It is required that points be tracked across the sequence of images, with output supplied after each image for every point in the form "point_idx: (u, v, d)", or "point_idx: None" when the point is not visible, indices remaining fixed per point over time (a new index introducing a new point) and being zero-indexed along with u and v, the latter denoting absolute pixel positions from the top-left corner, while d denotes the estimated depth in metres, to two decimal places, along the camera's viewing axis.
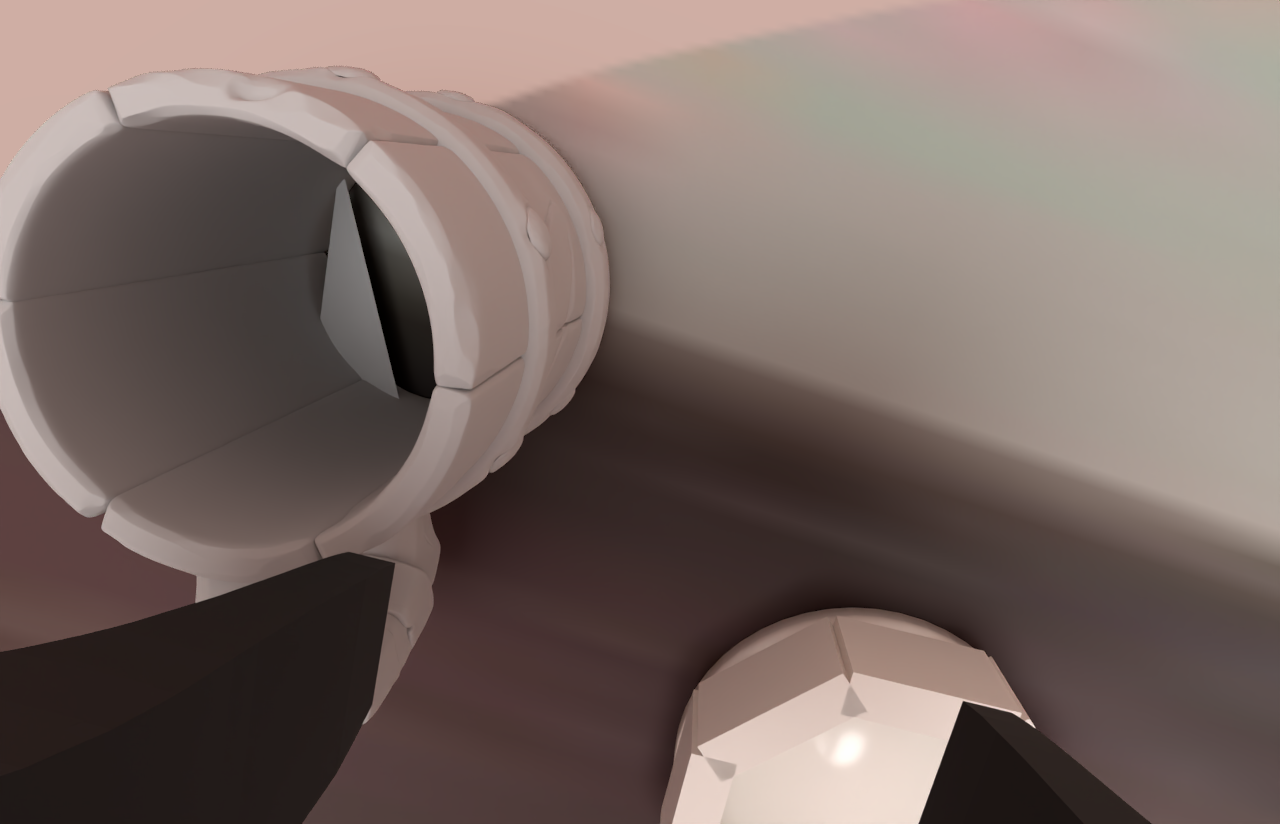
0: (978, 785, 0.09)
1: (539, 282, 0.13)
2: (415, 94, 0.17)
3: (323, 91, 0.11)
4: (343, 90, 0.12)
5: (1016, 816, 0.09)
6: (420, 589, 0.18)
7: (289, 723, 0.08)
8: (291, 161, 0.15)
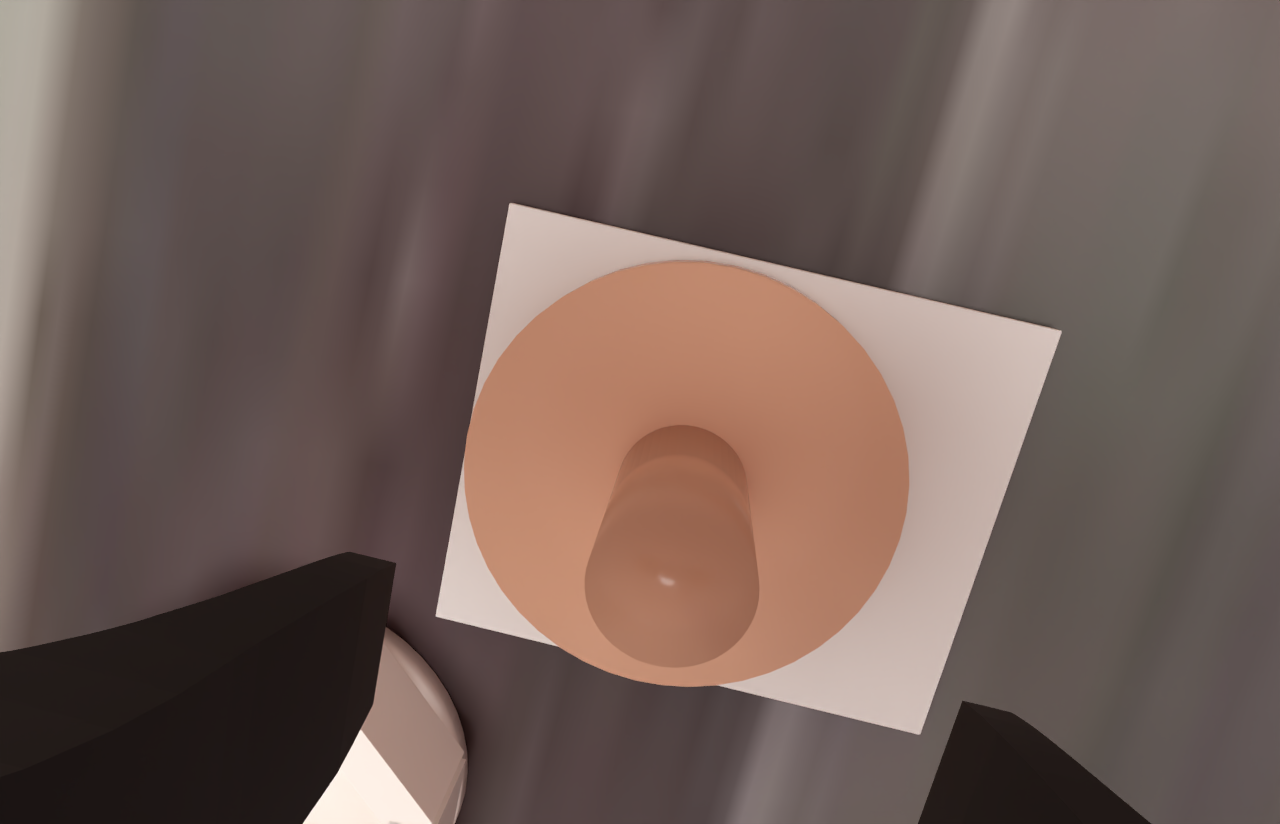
0: (977, 785, 0.09)
1: None
2: None
3: None
4: None
5: (1015, 816, 0.09)
6: None
7: (290, 723, 0.08)
8: None
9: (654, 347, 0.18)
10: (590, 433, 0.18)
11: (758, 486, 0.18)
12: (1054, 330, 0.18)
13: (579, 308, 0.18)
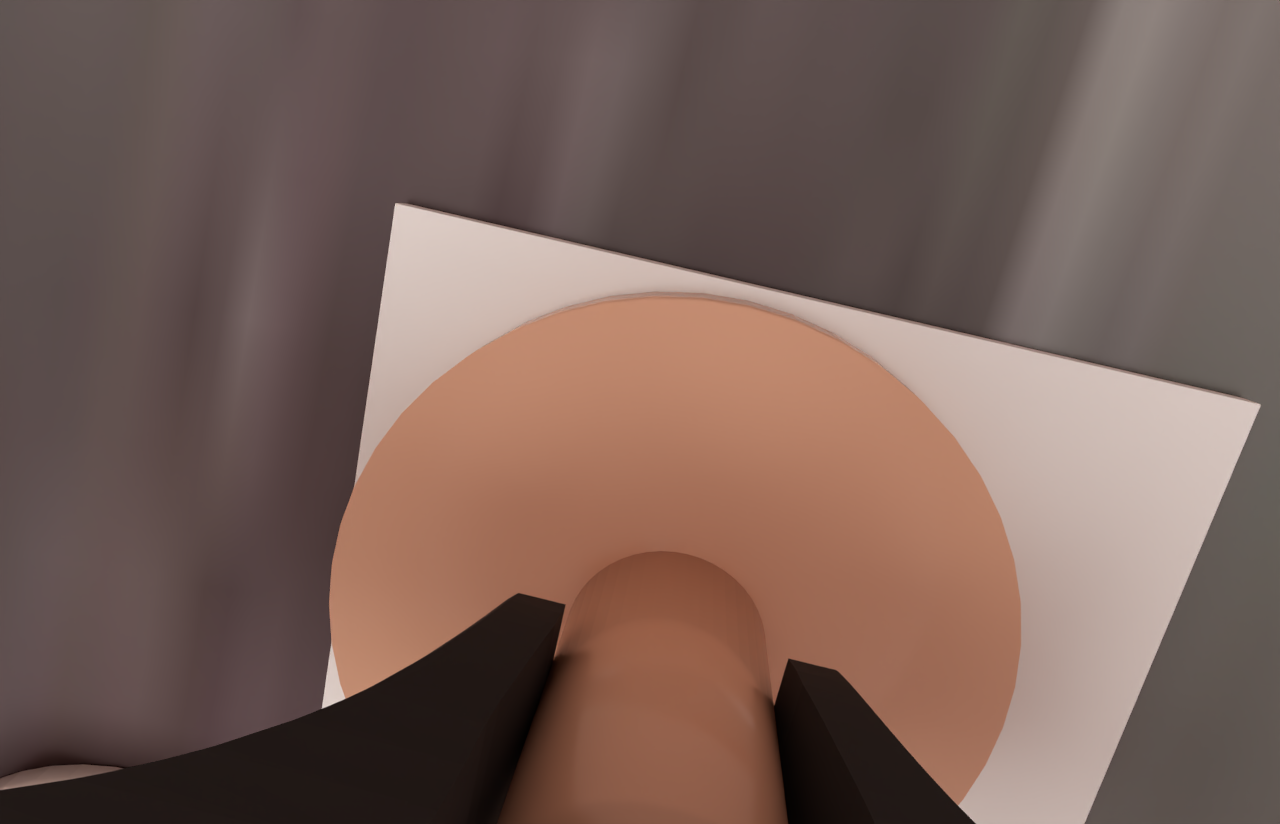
0: (787, 738, 0.09)
1: None
2: None
3: None
4: None
5: (807, 765, 0.09)
6: None
7: (500, 775, 0.08)
8: None
9: (619, 432, 0.11)
10: (521, 562, 0.12)
11: (784, 644, 0.12)
12: (1248, 402, 0.12)
13: (500, 371, 0.11)
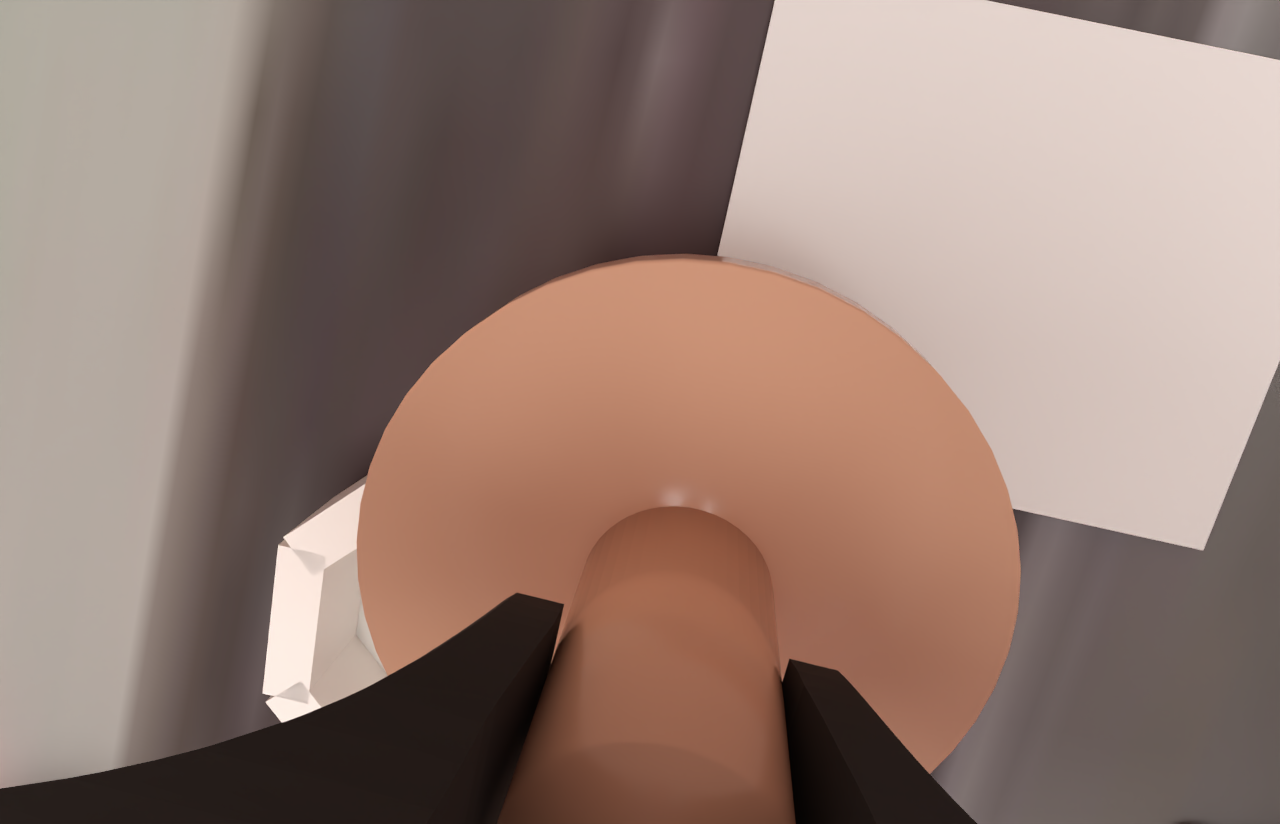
0: (788, 739, 0.09)
1: None
2: None
3: None
4: None
5: (808, 765, 0.09)
6: None
7: (499, 775, 0.08)
8: None
9: (643, 390, 0.12)
10: (543, 510, 0.12)
11: (791, 599, 0.12)
12: None
13: (529, 326, 0.12)
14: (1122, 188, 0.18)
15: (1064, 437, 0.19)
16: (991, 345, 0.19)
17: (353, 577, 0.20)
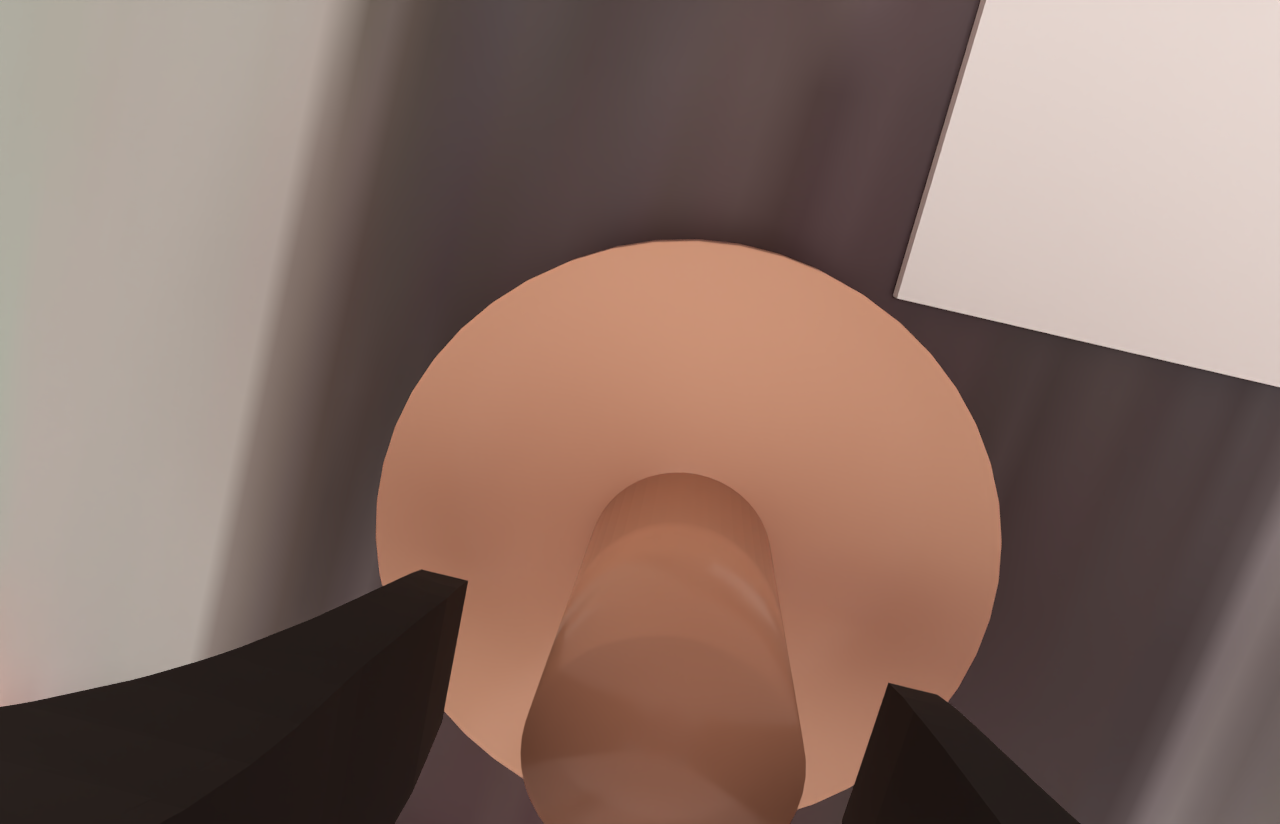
0: (896, 765, 0.09)
1: None
2: None
3: None
4: None
5: (926, 794, 0.09)
6: None
7: (378, 745, 0.08)
8: None
9: (657, 360, 0.13)
10: (557, 473, 0.13)
11: (787, 565, 0.13)
12: None
13: (554, 297, 0.12)
14: None
15: None
16: None
17: None
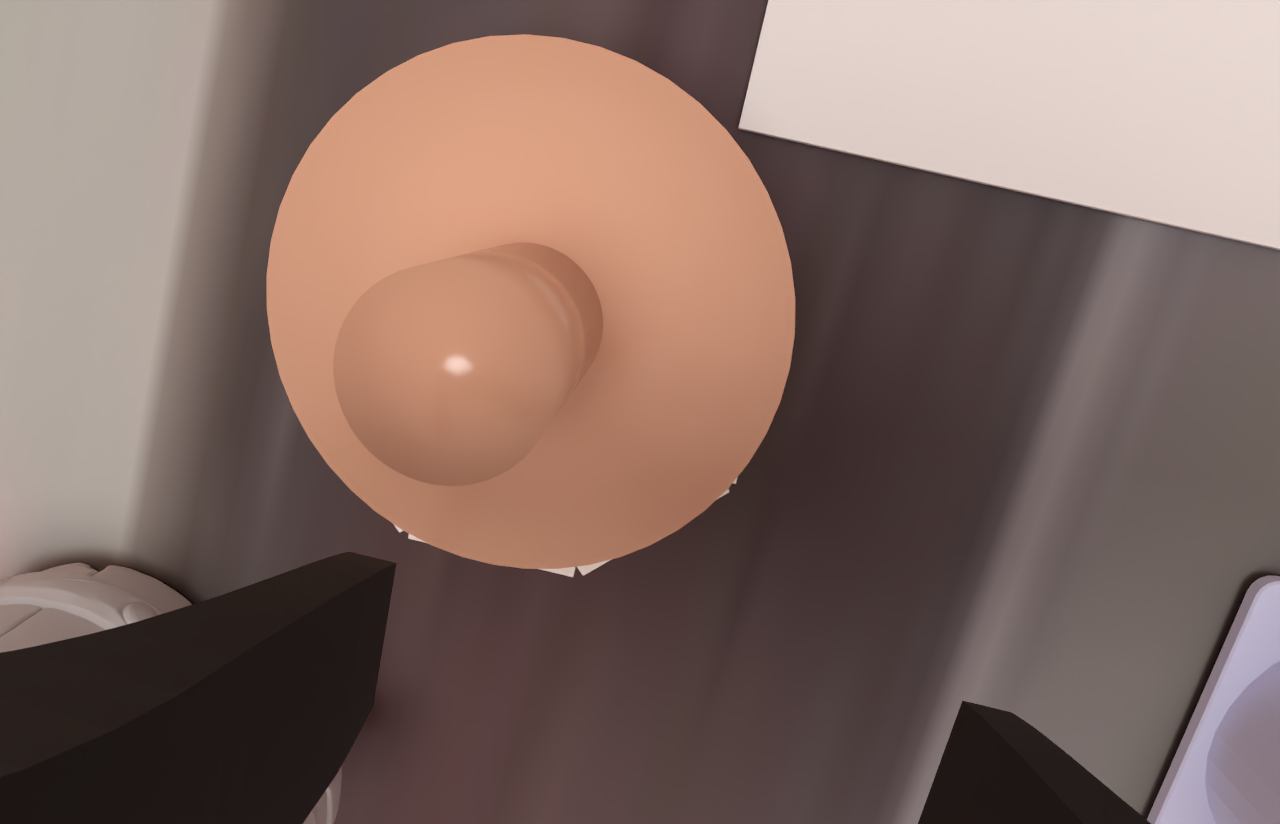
0: (978, 785, 0.09)
1: None
2: None
3: None
4: None
5: (1016, 816, 0.09)
6: None
7: (290, 723, 0.08)
8: None
9: (498, 141, 0.15)
10: (418, 246, 0.15)
11: (617, 325, 0.15)
12: None
13: (409, 86, 0.15)
14: None
15: (1153, 124, 0.18)
16: (1079, 18, 0.17)
17: None
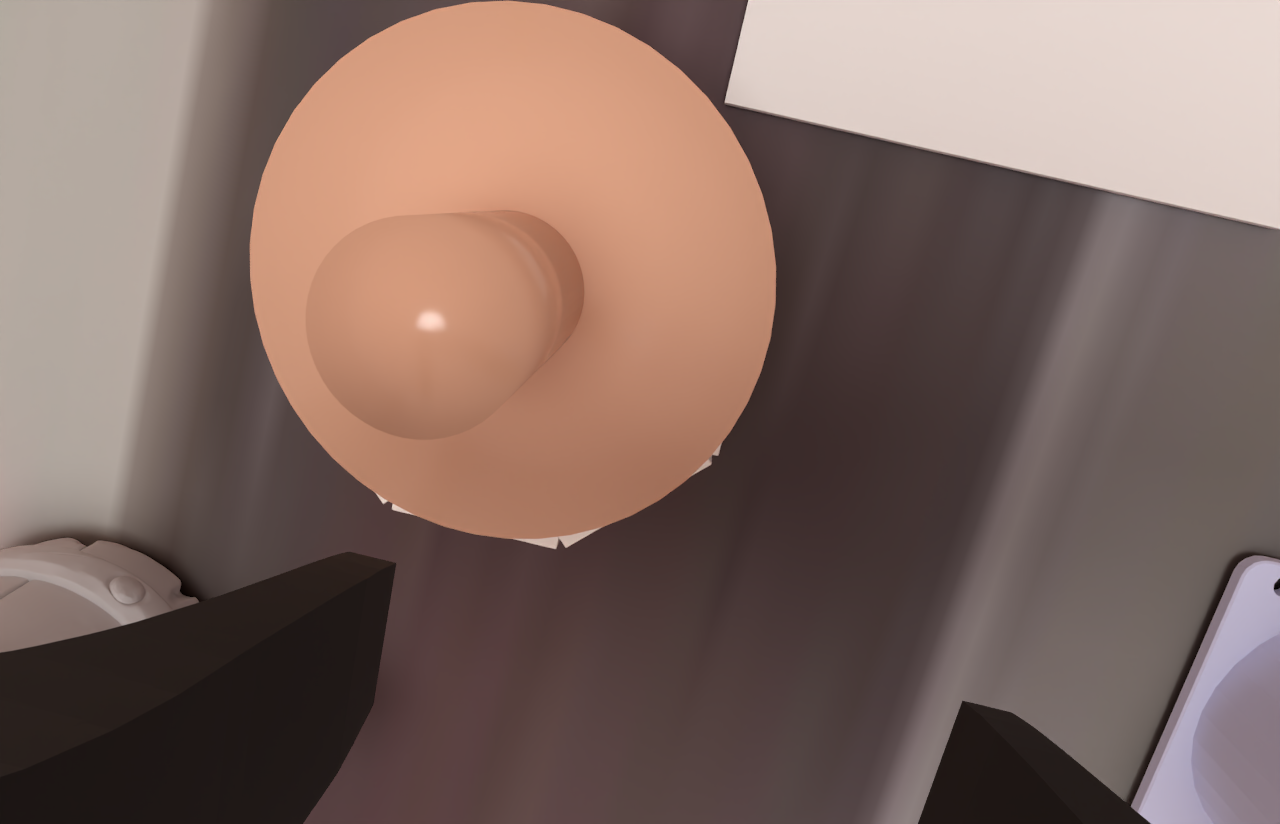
0: (978, 785, 0.09)
1: None
2: None
3: None
4: None
5: (1016, 816, 0.09)
6: None
7: (290, 723, 0.08)
8: None
9: (480, 108, 0.15)
10: (401, 214, 0.15)
11: (598, 293, 0.15)
12: None
13: (392, 52, 0.15)
14: None
15: (1139, 99, 0.18)
16: None
17: None
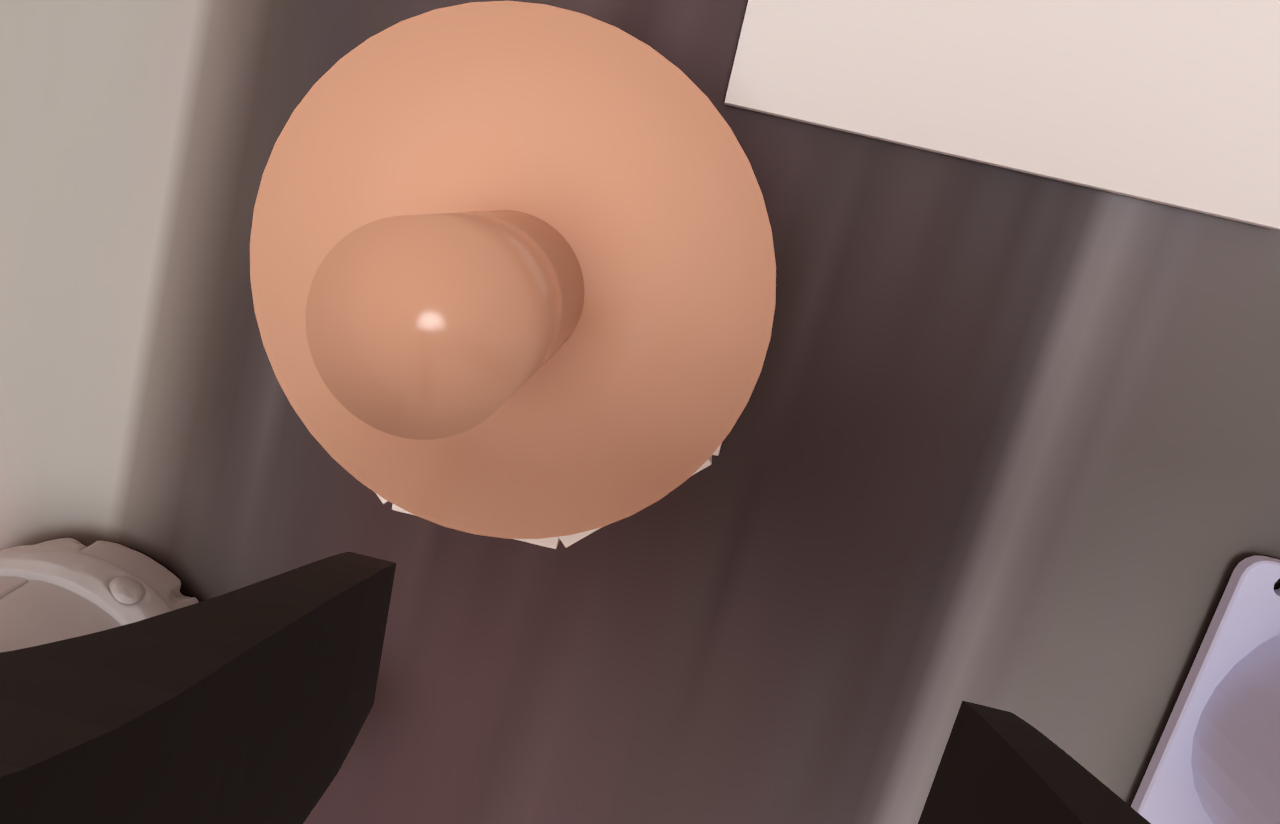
0: (978, 785, 0.09)
1: None
2: None
3: None
4: None
5: (1016, 816, 0.09)
6: None
7: (290, 723, 0.08)
8: None
9: (480, 108, 0.15)
10: (401, 214, 0.15)
11: (598, 293, 0.15)
12: None
13: (392, 52, 0.15)
14: None
15: (1139, 99, 0.18)
16: None
17: None
